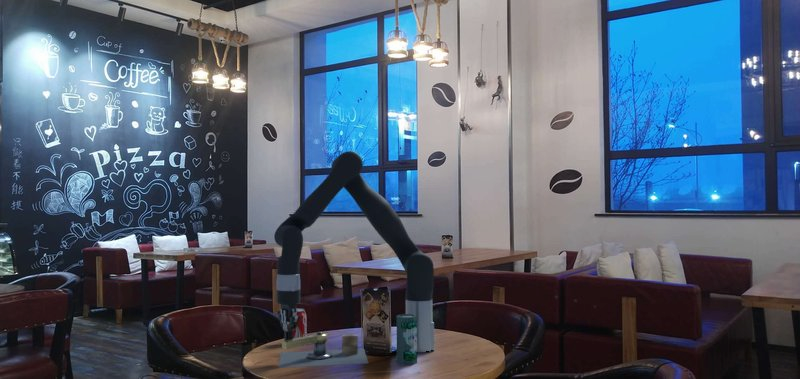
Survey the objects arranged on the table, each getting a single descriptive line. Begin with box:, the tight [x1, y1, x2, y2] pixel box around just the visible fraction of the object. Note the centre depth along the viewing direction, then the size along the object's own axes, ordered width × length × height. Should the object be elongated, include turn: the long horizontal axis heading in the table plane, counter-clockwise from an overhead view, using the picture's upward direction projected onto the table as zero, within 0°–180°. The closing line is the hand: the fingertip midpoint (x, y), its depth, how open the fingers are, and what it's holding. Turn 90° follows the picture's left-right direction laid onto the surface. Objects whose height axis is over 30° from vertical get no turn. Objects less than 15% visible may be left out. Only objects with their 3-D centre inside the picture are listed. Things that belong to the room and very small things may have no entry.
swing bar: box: [281, 331, 328, 350], centre depth 198 cm, size 16×5×3 cm, turn 136°
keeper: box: [341, 333, 359, 355], centre depth 206 cm, size 5×3×6 cm, turn 98°
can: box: [395, 313, 418, 366], centre depth 194 cm, size 6×6×15 cm
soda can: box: [293, 307, 308, 339], centre depth 223 cm, size 7×7×12 cm
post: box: [308, 341, 332, 360], centre depth 202 cm, size 8×8×5 cm
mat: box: [277, 348, 369, 369], centre depth 200 cm, size 28×19×1 cm
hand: (288, 342), depth 196 cm, fingers closed
